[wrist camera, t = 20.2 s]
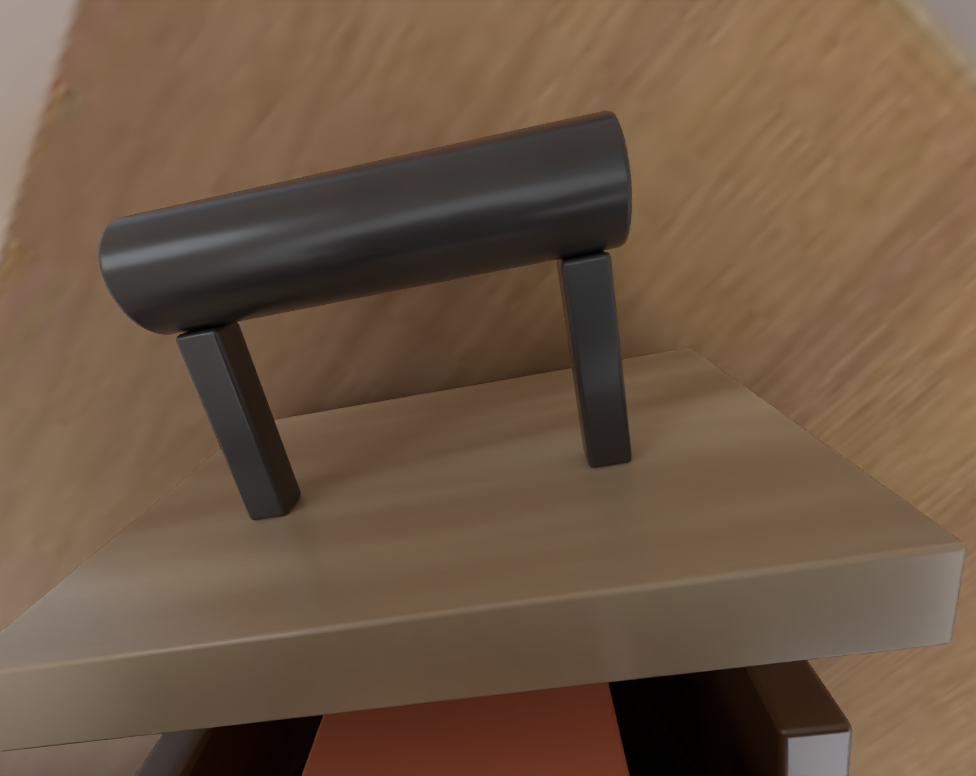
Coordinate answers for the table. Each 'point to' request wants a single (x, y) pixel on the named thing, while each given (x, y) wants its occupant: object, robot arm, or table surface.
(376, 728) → the block
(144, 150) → the table surface
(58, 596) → the drawer
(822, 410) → the table surface
